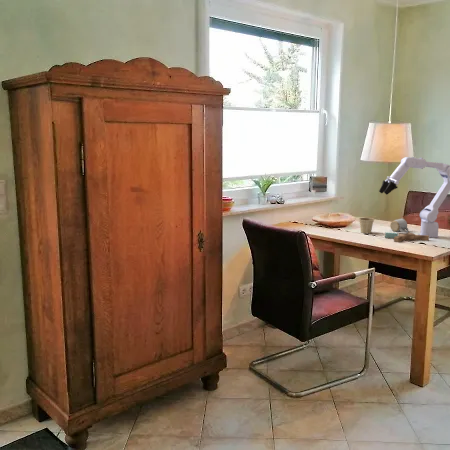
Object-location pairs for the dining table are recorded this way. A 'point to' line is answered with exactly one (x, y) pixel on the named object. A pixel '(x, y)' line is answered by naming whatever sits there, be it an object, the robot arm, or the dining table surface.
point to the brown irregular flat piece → (410, 237)
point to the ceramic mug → (399, 225)
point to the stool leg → (393, 234)
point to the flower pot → (366, 224)
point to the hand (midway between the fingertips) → (382, 193)
